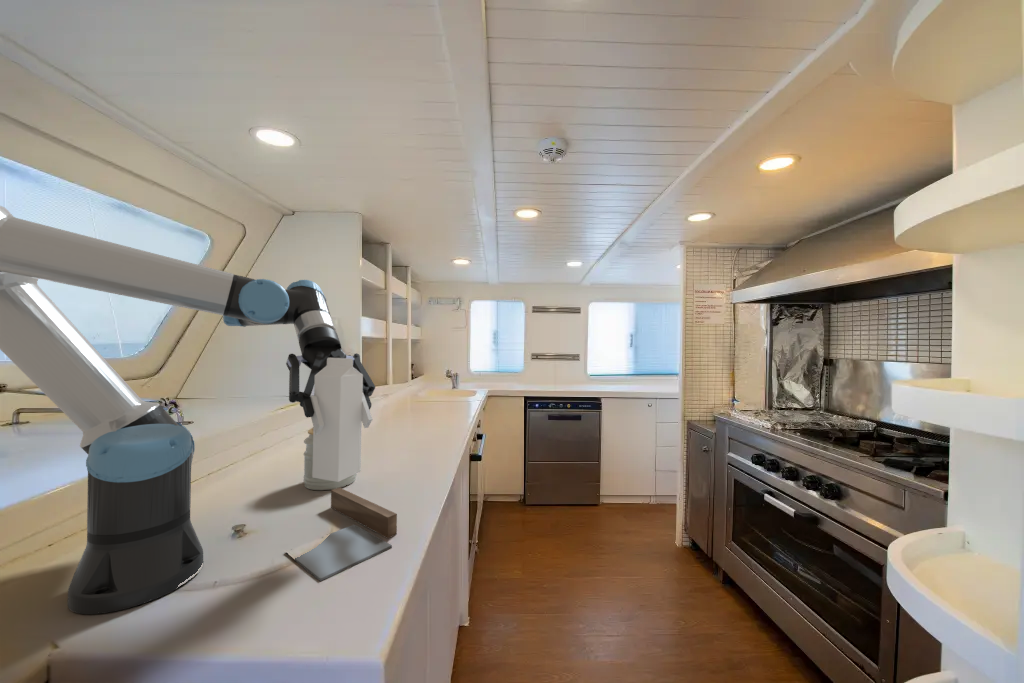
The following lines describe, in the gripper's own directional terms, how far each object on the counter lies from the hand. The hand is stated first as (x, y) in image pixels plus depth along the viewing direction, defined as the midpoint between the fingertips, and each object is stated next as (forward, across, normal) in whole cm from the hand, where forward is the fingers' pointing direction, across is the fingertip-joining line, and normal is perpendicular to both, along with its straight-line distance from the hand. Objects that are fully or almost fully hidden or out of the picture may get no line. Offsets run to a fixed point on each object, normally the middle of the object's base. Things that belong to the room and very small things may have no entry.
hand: (345, 426), depth 71 cm
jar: (-10, -10, -42) cm, 44 cm away
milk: (+5, 0, -9) cm, 10 cm away
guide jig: (+11, 0, -20) cm, 23 cm away
